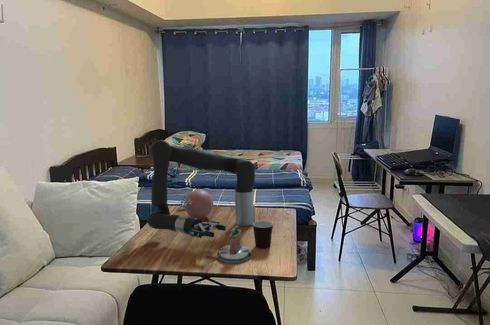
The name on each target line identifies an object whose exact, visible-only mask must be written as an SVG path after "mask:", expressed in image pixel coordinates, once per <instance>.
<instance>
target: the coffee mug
mask: <svg viewBox="0 0 490 325" xmlns="http://www.w3.org/2000/svg"><path fill="white" fill-rule="evenodd" d="M252 227H253V229H252V230H253V235H254V244H255V248H256V249H259V250H266V249H267V248H268V249H270V248H271V245H272V244H271V243H272V234H273V227H274V223H273V222H271V221H268V220H257V221H255V222H254V223H253V224H252ZM269 247H270V248H269ZM268 249H267V250H268Z"/></svg>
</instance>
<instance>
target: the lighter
mask: <svg viewBox="0 0 490 325" xmlns="http://www.w3.org/2000/svg"><path fill="white" fill-rule="evenodd" d="M230 231H231V233H229V245H230V254H232V255H234V254H236V253H238V252H239V251H240V249H241V245H242V244H241V241H242V240H241V235H242V234H241V233H242V230H241V229H240V226H239V225H235V226H233V227H232V229H231V230H230Z"/></svg>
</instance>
